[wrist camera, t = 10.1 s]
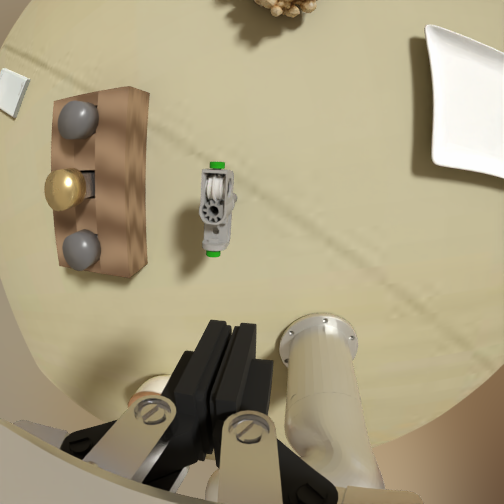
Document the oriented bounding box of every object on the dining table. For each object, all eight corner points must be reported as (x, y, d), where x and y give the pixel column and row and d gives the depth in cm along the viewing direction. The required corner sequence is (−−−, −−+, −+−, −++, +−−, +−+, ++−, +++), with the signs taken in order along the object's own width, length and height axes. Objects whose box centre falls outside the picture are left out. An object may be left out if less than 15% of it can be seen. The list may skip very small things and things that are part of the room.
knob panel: (147, 263, 46) (129, 278, 40) (80, 254, 47) (59, 265, 41) (149, 93, 37) (129, 86, 32) (77, 104, 39) (54, 101, 33)
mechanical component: (219, 233, 42) (197, 256, 33) (222, 159, 39) (201, 161, 30) (239, 235, 42) (224, 259, 33) (244, 161, 39) (229, 163, 29)
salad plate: (516, 66, 27) (527, 63, 23) (520, 184, 33) (532, 187, 30) (415, 28, 29) (423, 20, 26) (421, 164, 36) (431, 165, 33)
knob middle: (107, 200, 39) (72, 211, 32) (80, 199, 40) (45, 210, 32) (106, 164, 37) (71, 169, 30) (79, 165, 38) (43, 171, 30)
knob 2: (119, 254, 44) (91, 273, 37) (94, 251, 45) (65, 268, 37) (117, 222, 43) (87, 236, 35) (91, 220, 43) (60, 233, 36)
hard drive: (27, 78, 37) (1, 67, 36) (12, 117, 39) (-11, 102, 39) (32, 79, 38) (7, 68, 38) (18, 117, 41) (-6, 102, 40)
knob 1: (116, 137, 38) (84, 137, 31) (90, 140, 39) (56, 141, 32) (118, 103, 37) (87, 97, 29) (92, 107, 37) (59, 103, 30)
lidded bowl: (134, 374, 54) (110, 410, 44) (176, 355, 51) (153, 395, 40) (175, 414, 57) (158, 452, 46) (219, 400, 53) (205, 442, 43)
